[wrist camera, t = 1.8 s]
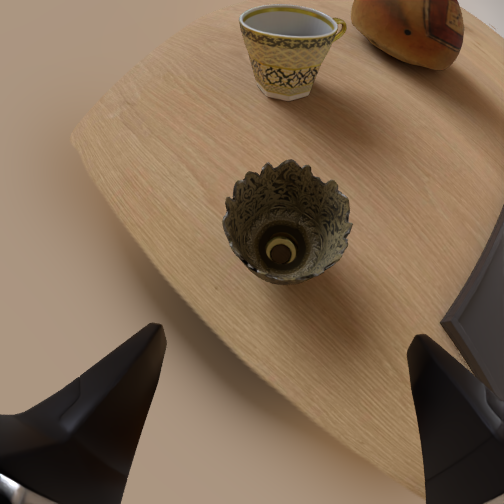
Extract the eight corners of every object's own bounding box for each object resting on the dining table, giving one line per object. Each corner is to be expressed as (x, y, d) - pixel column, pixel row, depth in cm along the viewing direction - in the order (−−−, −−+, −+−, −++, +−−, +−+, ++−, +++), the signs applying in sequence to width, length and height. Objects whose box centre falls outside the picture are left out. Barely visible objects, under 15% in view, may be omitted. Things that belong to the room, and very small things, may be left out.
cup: (341, 250, 23) (375, 209, 15) (286, 318, 21) (301, 308, 14) (274, 198, 24) (278, 140, 17) (217, 258, 23) (196, 220, 15)
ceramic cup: (268, 120, 27) (269, 44, 18) (231, 75, 30) (223, 12, 20) (358, 95, 28) (378, 33, 19) (314, 56, 31) (321, 0, 22)
